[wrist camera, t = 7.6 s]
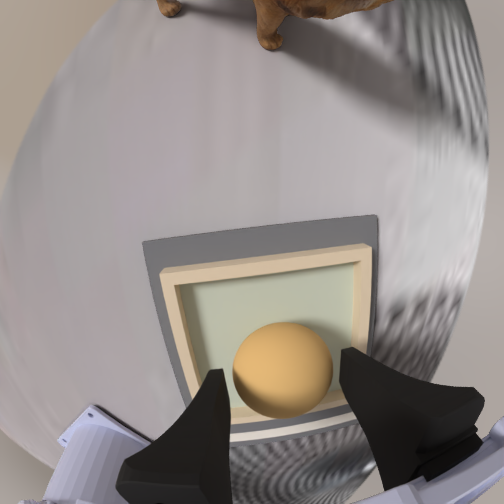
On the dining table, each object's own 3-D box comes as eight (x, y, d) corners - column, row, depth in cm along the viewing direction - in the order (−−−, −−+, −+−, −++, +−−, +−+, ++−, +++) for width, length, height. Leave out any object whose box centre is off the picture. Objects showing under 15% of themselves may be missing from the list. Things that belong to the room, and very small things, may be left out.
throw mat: (357, 420, 17) (363, 431, 16) (202, 445, 17) (201, 458, 16) (374, 214, 14) (386, 217, 13) (143, 241, 13) (135, 246, 12)
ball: (273, 390, 15) (286, 449, 11) (213, 347, 14) (208, 408, 10) (333, 340, 15) (367, 391, 10) (277, 287, 14) (300, 335, 9)
